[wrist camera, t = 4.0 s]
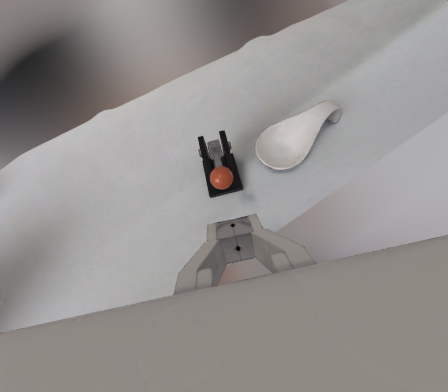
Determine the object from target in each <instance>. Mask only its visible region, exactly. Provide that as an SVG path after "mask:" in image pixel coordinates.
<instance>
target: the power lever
mask: <svg viewBox="0 0 448 392" xmlns="http://www.w3.org/2000/svg"><path fill="white" fill-rule="evenodd" d="M207 144H208V149H209V153H210V156H211V160H213V159H214V163H215V169H214V170H213V171H212V172H211V175H210V181H211V184H212V185H213V186H214V187H215V188H217V189H221V190H222V189H226V188H228V187H229V186H230V185H231V184H232V181H233V175H232V172H231V171H230V170H229V169H228V168H226V167H223V166H222V162H221V158H220V157H223V155H222V150H221V146H220V143H219V140H214V141H210V142H207Z"/></svg>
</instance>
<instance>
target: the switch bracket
mask: <svg viewBox="0 0 448 392" xmlns="http://www.w3.org/2000/svg"><path fill="white" fill-rule="evenodd" d="M219 134H220V139H221V144H222V149H223V154H224V155H223V157H220V158H221V162H222V166H223V167H226V168H228V169H229V170H230V171H231V172H232V175H233V181H232V184H231V185H230V186H229V187H228V188H226V189H222V190H221V189H217V188H215V187H214V186H213V185H212V184H211V181H210V175H211V172H212V171H213V170H214V169H215V163H214V159H213V160H211V158H210V155H209V152H208V149H207V146H206V143H205V140H204V137H203V136H201V137H198V141H199V146H200V149H199V155H200V157H202V159H203V161H202V162H203V167H204V171H205V176H206V181H207V186H208V191H209V196H210V198H212V197H216V196H220V195H224V194H228V193H232V192H236V191H240V190H243V187H242V183H241V180H240V177H239V173H238V170H237V166H236V163H235V159H234V156H233V153H231V154H230V149H231V144H230V142H228V141H227V138H226V134H225V131H220V132H219Z"/></svg>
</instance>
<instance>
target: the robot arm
mask: <svg viewBox="0 0 448 392" xmlns="http://www.w3.org/2000/svg"><path fill="white" fill-rule="evenodd" d="M252 258H256V259H257V260H258V261H259V262H261V263H262V264H263V265H264V266H265V267H266V268H268V269H269V270H270V271H271V272H272V274H268V275H263V276H259V277H254V278H250V279H245V280H241V281H236V282H232V283H227V284H222V285H218V283H219V281H220V279H221V277H222V274H223V272H224V270H225V268H226V266H227V264H230V263H234V262H238V261H242V260H247V259H252ZM217 285H218V286H217ZM0 392H448V235H446V236H441V237H437V238H432V239H428V240H423V241H418V242H414V243H410V244H405V245H400V246H396V247H391V248H386V249H382V250H377V251H373V252H369V253H364V254H359V255H355V256H350V257H346V258H341V259H337V260H332V261H328V262H323V263H319V264H316V262H315V261H314V259H313V258H312V257H311V256H310V254H309V253H308V251H307V250H306V249H305V247H303V246H301V245H300V244H298V243H295V242H293V241H291V240H289V239H287V238H284V237H283V236H281V235H278V234H276V233H274V232H272V231H270V230H268V229H263V227H262V225H261V223H260V221H259V219H258V217H257V215H256V214H252V215H248V216H245V217H241V218H237V219H233V220H227V221H222V222H217V223H213V224H208V225H207V242H205V243H204V244H203V245H202V246H201V247H200V248H199V250H198V251H197V252H196V253H195V254H194V256H193V257H192V258H191V259H190V260H189V262H188V263H187V264H186V265H185V266H184V268H183V269H182V270H181V271H180V272H179V274H178V277H177V282H176V286H175V291H174V295H172V296H168V297H163V298H158V299H154V300H149V301H145V302H140V303H136V304H131V305H126V306H122V307H117V308H113V309H108V310H104V311H99V312H94V313H90V314H85V315H81V316H76V317H71V318H67V319H62V320H58V321H53V322H49V323H44V324H39V325H35V326H30V327H26V328H21V329H16V330H12V331H7V332H3V333H0Z"/></svg>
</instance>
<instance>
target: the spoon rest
mask: <svg viewBox="0 0 448 392" xmlns="http://www.w3.org/2000/svg"><path fill="white" fill-rule="evenodd" d="M341 114H342V108H341V107H339V106H337V105H335V104H334V103H333V102H332V101H331V100H327V101H324V102H321V103H319V104H317V105H316V106H314V107H312V108H310V109H308V110H306V111H304V112H302V113H300V114H298V115H295V116H293V117H290V118H288V119H285V120H283V121H280V122H278V123H276V124H274V125H272V126H270V127H268V128H267V129H265V130H264V131H263V132H262V133H261V134H260V135H259V136H258V138H257V140H256V143H255V151H256V155H257V157H258V158H259V160H260V161H261V162H262V163H263V164H264V165H266V166H267V167H270V168H272V169H276V170H286V169H290V168H292V167H295V166H296V165H298V164H299V163H301V162H302V161H303V160H304V159H305V157H306V156H307V154H308V153H309V151H310V150H311V147H312V145H313V143H314V141H315V139H316V137H317V135H318V133H319V130H320V128H321V126H322V125H323V123H324V122H325V120H326V119H328V120H330V121H331V122H333V123H337V122H338V121H339V119H340V117H341Z"/></svg>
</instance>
